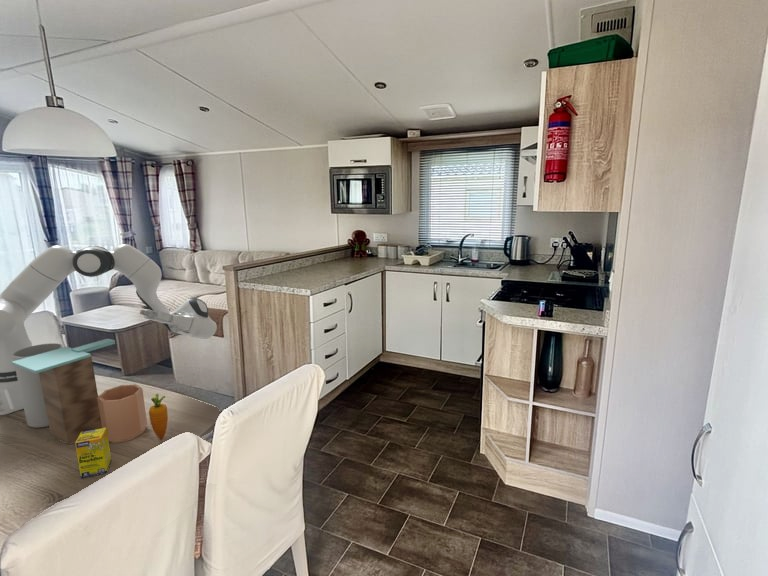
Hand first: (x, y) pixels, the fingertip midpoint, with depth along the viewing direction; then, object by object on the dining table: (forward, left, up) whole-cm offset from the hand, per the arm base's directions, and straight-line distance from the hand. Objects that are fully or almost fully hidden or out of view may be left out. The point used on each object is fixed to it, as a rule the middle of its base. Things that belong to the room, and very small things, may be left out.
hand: (149, 313), depth 144 cm
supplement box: (0, -43, -33) cm, 54 cm away
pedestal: (-16, -23, -33) cm, 43 cm away
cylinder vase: (-30, -12, -33) cm, 46 cm away
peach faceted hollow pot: (-1, -25, -33) cm, 41 cm away
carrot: (+12, -30, -33) cm, 46 cm away
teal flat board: (-15, -21, -7) cm, 27 cm away
